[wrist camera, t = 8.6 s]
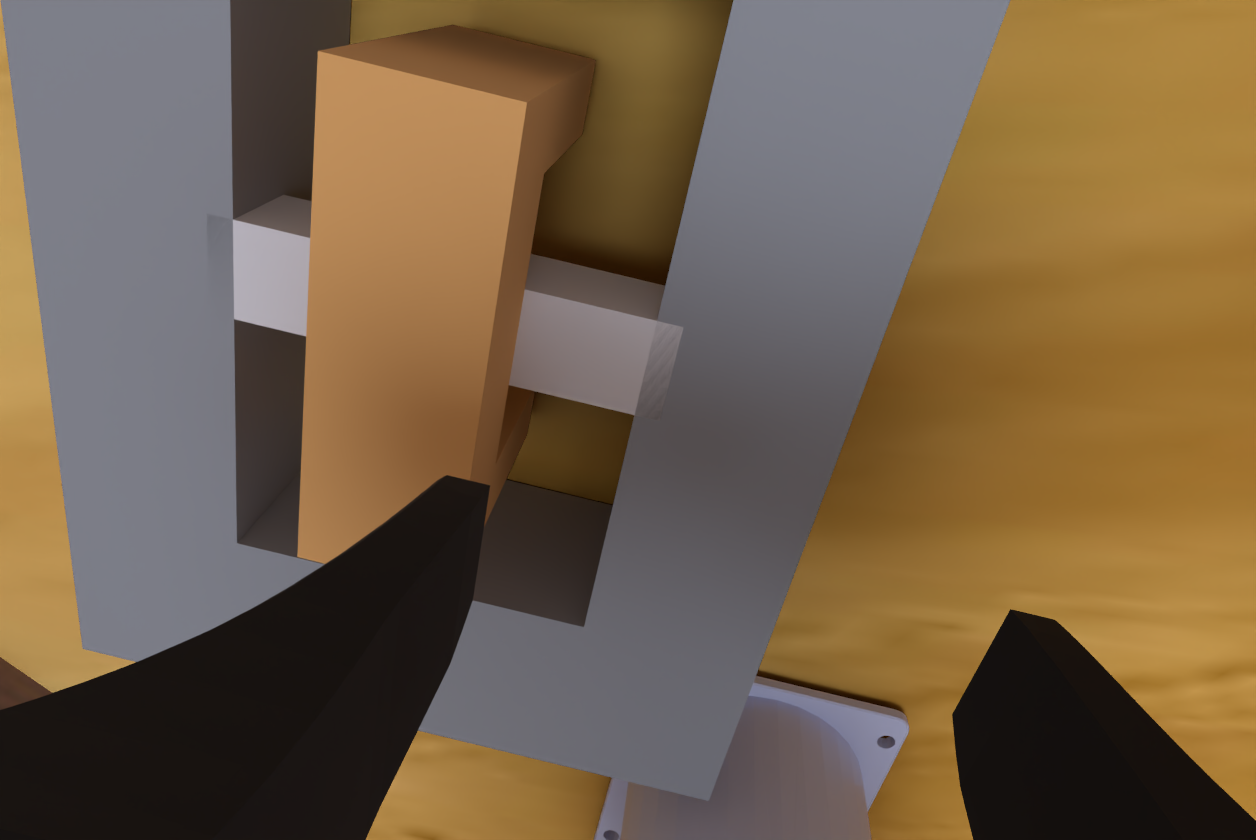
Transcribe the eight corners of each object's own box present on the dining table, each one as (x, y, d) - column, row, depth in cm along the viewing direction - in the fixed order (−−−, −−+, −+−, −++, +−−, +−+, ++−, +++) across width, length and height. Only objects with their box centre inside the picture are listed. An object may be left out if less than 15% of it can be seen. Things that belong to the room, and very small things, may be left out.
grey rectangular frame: (714, 659, 26) (708, 801, 22) (194, 533, 26) (82, 648, 22) (1021, -238, 16) (1130, -318, 11) (154, -439, 16) (-75, -598, 11)
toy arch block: (527, 434, 22) (452, 595, 16) (411, 406, 22) (297, 556, 16) (595, 60, 18) (527, 102, 12) (453, 24, 18) (318, 50, 12)
